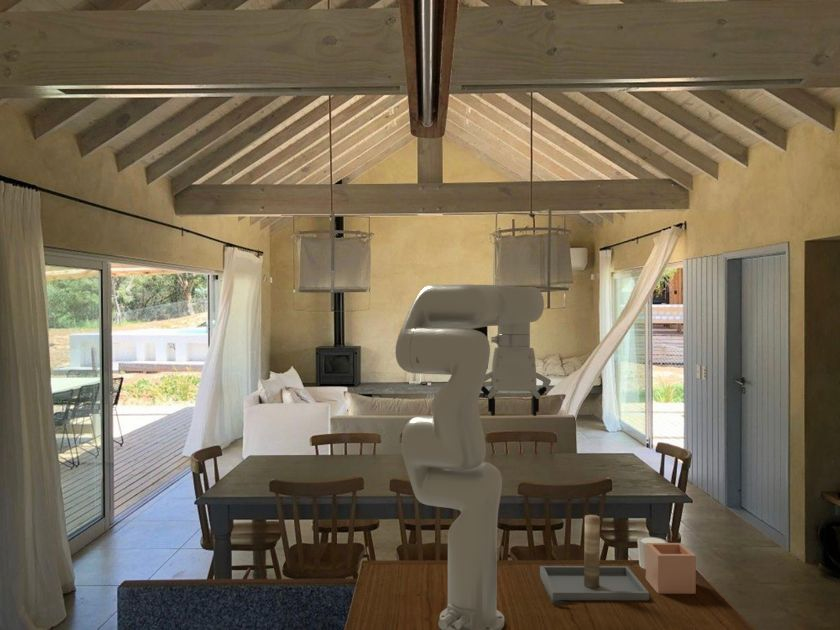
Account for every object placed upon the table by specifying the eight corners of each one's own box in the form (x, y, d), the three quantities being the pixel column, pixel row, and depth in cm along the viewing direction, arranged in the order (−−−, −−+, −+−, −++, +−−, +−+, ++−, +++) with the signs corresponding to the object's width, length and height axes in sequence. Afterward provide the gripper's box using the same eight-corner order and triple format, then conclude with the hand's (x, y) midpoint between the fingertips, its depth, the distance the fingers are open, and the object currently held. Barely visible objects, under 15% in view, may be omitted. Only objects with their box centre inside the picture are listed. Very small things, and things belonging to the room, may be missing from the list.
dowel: (596, 589, 151) (597, 520, 151) (582, 586, 153) (582, 517, 152) (601, 584, 154) (601, 516, 153) (586, 581, 155) (587, 513, 155)
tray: (552, 604, 146) (552, 592, 146) (540, 576, 161) (540, 565, 161) (649, 604, 146) (649, 592, 146) (627, 577, 161) (627, 566, 161)
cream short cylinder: (669, 577, 161) (670, 546, 161) (638, 574, 162) (638, 544, 162) (665, 566, 167) (666, 537, 167) (635, 564, 169) (635, 535, 169)
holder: (657, 597, 149) (658, 555, 149) (645, 583, 157) (645, 542, 157) (695, 597, 149) (695, 555, 149) (681, 583, 157) (681, 543, 157)
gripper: (478, 342, 161) (477, 417, 161) (553, 342, 161) (553, 417, 161) (475, 341, 168) (475, 412, 168) (547, 341, 168) (547, 412, 168)
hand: (513, 414), depth 165 cm, fingers open, 9 cm apart
